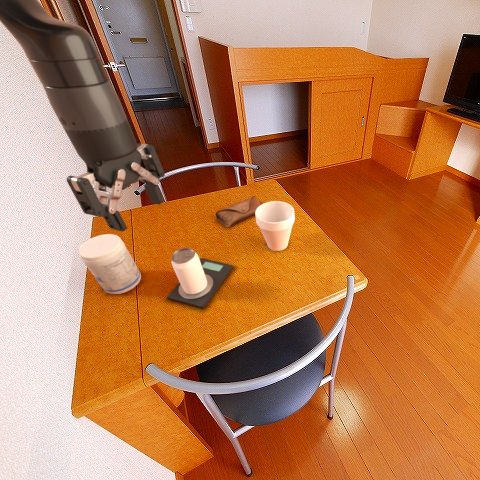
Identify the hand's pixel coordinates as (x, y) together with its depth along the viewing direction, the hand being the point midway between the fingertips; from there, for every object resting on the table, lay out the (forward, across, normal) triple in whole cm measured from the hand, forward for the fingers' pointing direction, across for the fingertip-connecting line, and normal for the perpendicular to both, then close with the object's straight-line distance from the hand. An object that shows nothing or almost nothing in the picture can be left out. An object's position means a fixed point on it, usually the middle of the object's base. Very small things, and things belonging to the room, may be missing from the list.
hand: (140, 215), depth 48 cm
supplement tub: (+34, +6, +27) cm, 44 cm away
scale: (+34, +13, +5) cm, 36 cm away
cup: (+34, +35, -9) cm, 50 cm away
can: (+32, +10, +5) cm, 34 cm away
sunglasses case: (+34, +48, +10) cm, 59 cm away
